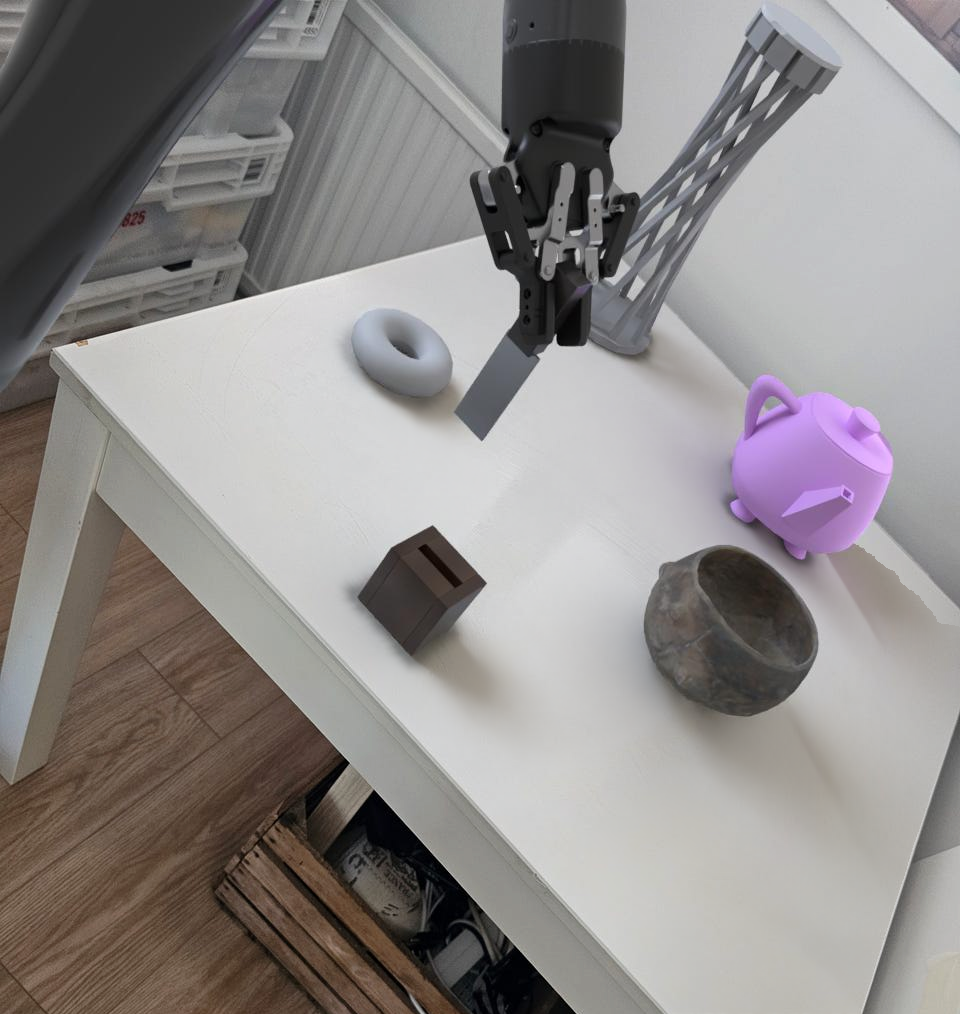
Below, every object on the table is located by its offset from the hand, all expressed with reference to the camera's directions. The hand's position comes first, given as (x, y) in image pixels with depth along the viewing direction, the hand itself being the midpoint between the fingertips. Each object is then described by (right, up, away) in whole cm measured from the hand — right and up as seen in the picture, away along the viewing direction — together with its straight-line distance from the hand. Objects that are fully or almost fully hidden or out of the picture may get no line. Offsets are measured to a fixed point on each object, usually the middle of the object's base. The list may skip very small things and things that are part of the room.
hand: (555, 344), depth 68 cm
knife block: (-11, -17, +11) cm, 23 cm away
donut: (-13, +6, +29) cm, 32 cm away
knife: (-6, -4, +7) cm, 10 cm away
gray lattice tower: (+9, +19, +56) cm, 60 cm away
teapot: (+26, -5, +47) cm, 54 cm away
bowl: (+14, -22, +24) cm, 36 cm away
